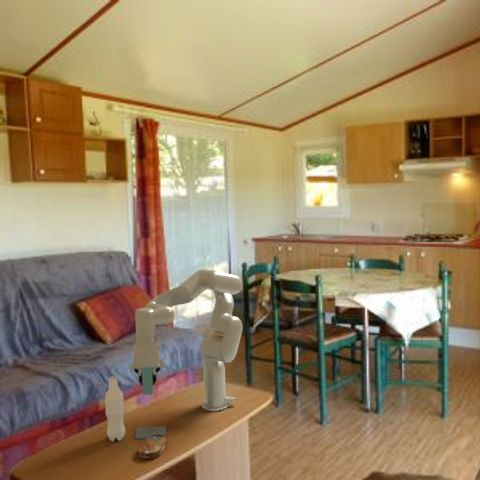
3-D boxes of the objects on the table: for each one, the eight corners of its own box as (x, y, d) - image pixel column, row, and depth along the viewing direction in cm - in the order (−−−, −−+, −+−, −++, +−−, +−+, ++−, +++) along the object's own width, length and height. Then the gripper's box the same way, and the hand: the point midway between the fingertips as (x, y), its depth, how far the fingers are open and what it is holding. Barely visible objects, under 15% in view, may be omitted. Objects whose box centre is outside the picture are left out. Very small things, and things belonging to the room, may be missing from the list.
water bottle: (119, 432, 215) (116, 373, 213) (129, 438, 210) (125, 377, 208) (103, 438, 210) (100, 377, 208) (113, 444, 205) (109, 382, 203)
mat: (166, 427, 219) (166, 425, 219) (165, 437, 210) (165, 435, 210) (137, 429, 218) (137, 427, 218) (134, 439, 209) (134, 438, 209)
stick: (153, 394, 210) (151, 359, 209) (142, 394, 210) (141, 360, 209) (153, 390, 214) (152, 356, 213) (143, 391, 214) (142, 357, 213)
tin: (149, 433, 208) (169, 433, 206) (150, 441, 208) (170, 441, 206) (134, 452, 193) (156, 452, 191) (135, 460, 193) (157, 460, 191)
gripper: (167, 335, 214) (169, 379, 216) (125, 337, 213) (128, 382, 215) (166, 340, 207) (168, 386, 209) (123, 343, 206) (125, 388, 207)
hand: (148, 383), depth 212 cm, fingers closed on stick, 4 cm apart
